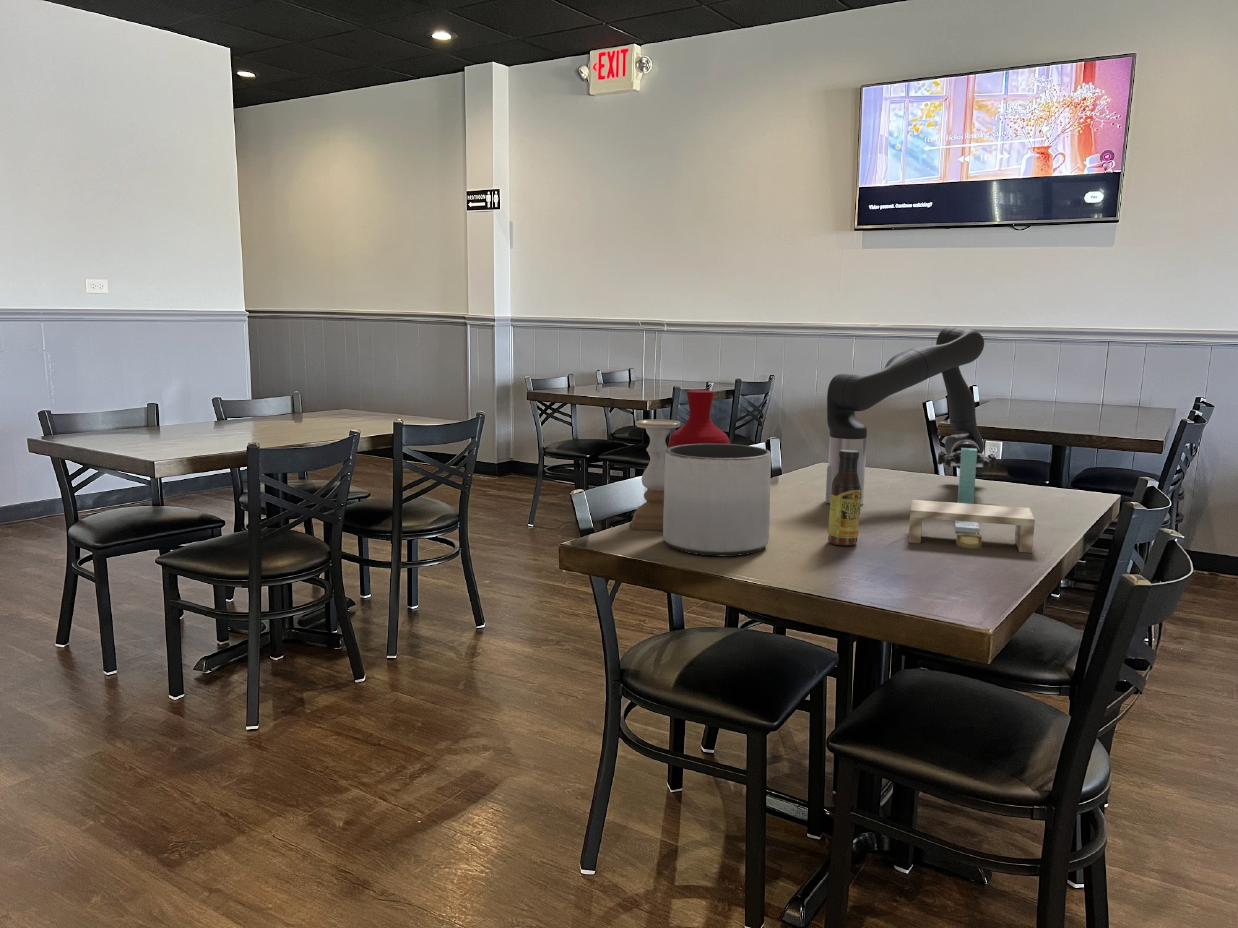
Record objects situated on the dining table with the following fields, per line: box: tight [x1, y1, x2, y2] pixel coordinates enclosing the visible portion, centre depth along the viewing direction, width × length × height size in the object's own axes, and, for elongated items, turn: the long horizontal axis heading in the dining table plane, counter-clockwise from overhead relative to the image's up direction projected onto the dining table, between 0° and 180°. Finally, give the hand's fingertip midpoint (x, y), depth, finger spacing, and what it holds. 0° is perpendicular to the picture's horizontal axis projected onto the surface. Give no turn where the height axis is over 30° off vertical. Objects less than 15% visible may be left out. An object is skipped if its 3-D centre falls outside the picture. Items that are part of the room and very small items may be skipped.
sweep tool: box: [953, 448, 980, 534], centre depth 206 cm, size 5×24×16 cm, turn 160°
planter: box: [662, 443, 772, 556], centre depth 183 cm, size 22×22×20 cm
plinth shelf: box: [908, 499, 1036, 554], centre depth 188 cm, size 24×12×7 cm, turn 70°
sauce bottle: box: [827, 450, 862, 547], centre depth 185 cm, size 6×6×20 cm
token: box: [955, 532, 983, 550], centre depth 185 cm, size 5×5×2 cm
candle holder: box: [631, 418, 682, 531], centre depth 200 cm, size 11×11×24 cm
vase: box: [667, 389, 731, 448], centre depth 211 cm, size 15×15×30 cm
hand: (967, 463), depth 226 cm, fingers open, 8 cm apart
